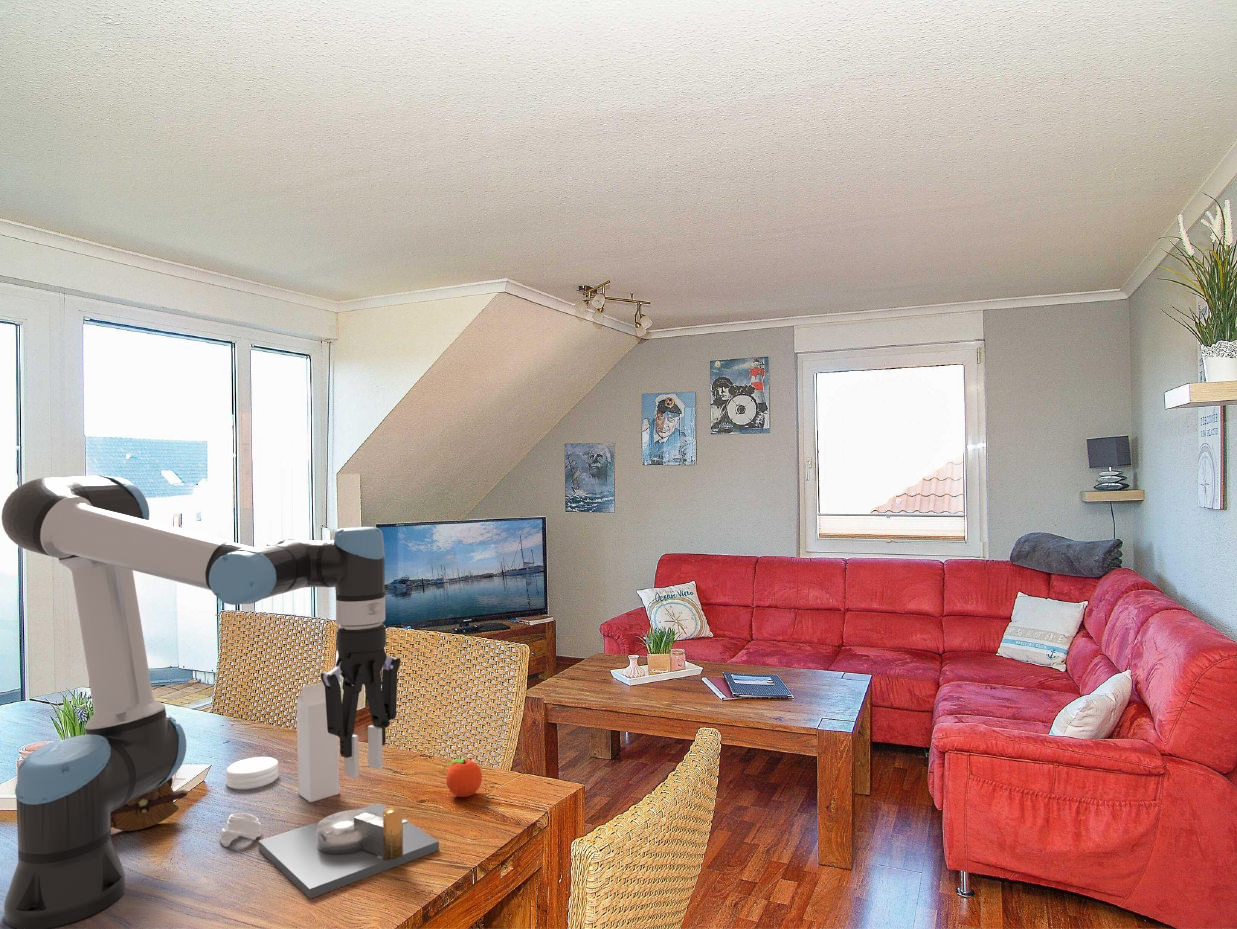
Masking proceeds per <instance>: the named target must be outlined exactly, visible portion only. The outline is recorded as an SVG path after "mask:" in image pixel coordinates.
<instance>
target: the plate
mask: <svg viewBox="0 0 1237 929" xmlns="http://www.w3.org/2000/svg"><path fill="white" fill-rule="evenodd" d="M387 808H388V807H387V806H385V805H384V804H382V803H380V802H378V803H377V802H376V803H373V804H371V805H368V806H364V807H361V808H358V809H357V810H368V811H372V812H374V813H376V814H377V815H378V816H379V817H382V818H383V811H384V810H385V809H387ZM319 822H320V821H317V822H313V823H311V824H307V825H304V826H301V827H297V828H294V829H292V830H289V831H286V832H283V833H279V834H276V835H272V836H270V837H269V836H268V837H267V838H266V837H265V838H263V839H260V840H258V850H259V851H260V852H261V853H262V854H263V855H264V856H265V857H266V858H267V859H268V860H269V861H270V862H271V863H272V864H273V865H274V866H275V867H277V869H278V870H279V871H280V872H281V873H282V874H283V875H285V877H286V878H288V879H289V881H291V882H292V883H293V884H294V885H295V886H296V887H297V888H298V889H299V890H300V891H301V892H302V893H303V894H304V895H305V896H306V897H307V898H308V899H309V900H311V899H313V898H316V897H318V896H321V895H325V894H326V893H329V892H331V891H335V890H337V889H340V888H342V887H345V886H348V885H350V884H353V883H355V882H358V881H361V880H363V879H366V878H369V877H371V876H375V875H377V874H380V873H383V872H385V871H388V870H390V869H392V868H393V869H394V868H396V867H398V866H401V865H403V864H406V863H409V862H411V861H414V860H417V859H419V858H423V857H424V856H427V855H430V854H432V853H435V852H438V851H439V850H440V842H439V840H438V839H436V838H434V837H433V836H432V835H430V834H429V833H427V832H425V831H424V830H422V829H421V828H419V827H418V826H416V825H415V824H413V823H411V822H409V820H407V819H405V818H403V817H402V824H403V855H402V856H401V857H399V858H397V859H392V860H388V859H385V858H384V857H383V856H380V855H377V854H374V853H372V852H369V851H366V850H363V849H362V850H359V851H356V852H351V853H345V854H330V853H325V852H322V851H321V850H319V849H318V847H317V824H318V823H319Z"/></svg>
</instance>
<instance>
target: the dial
mask: <svg viewBox="0 0 1237 929" xmlns="http://www.w3.org/2000/svg"><path fill="white" fill-rule="evenodd" d="M386 808H387V809H385V810H384V811H383V818H382V817H379V816H378V815H377V814H376V813H374V812H372V811H368V810H358V809H349V810H343V811H338V812H336V813H333V814H330V815H327V816H326V817H324V818H322V819H321V820H320V821H318V822H319V823H318V824H317V847H318V849H319V850H321V851H322V852H325V853H330V854H345V853H351V852H356V851H359V850H362V849H363V850H366V851H369V852H372V853H374V854H377V855H380V856H383V857H384V858H385V859H388V860H392V859H397V858H399V857H401V856H402V855H403V824H402V818H403V809H402V808H401V807H399V806H392V807H386Z"/></svg>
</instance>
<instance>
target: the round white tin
mask: <svg viewBox="0 0 1237 929" xmlns="http://www.w3.org/2000/svg"><path fill="white" fill-rule="evenodd" d="M279 769H280V768H279V761H278V760H277V759H276V758H274V757H271V756H254V757H250V758H249V757H248V758H245V759H241V760H238V761H235V762H233V763H231V764H230V765H229V766H228V767H227V768H226V770H225V774H226V776H225V778H226V785H227V787H229V789H233V790H249V789H250V790H252V789H256V788H261V787H265V786H267V785H270V784H271V783H274V781H276V780H277V779H278V778H279V776H280V774H279Z"/></svg>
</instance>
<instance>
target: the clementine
mask: <svg viewBox="0 0 1237 929" xmlns="http://www.w3.org/2000/svg"><path fill="white" fill-rule="evenodd" d="M452 763H453V764H452ZM449 764H452V765H451V766H450V768H449V769H448V771H447V774H446V780H445V781H446V786H447V788H448V790H449V792H450V793H452V795H454V796H456V797H458V798H467V797H470V796H472V795H474V794H475V793H477V791H478V790H479V788H480V787H481V785H482V779H483V775H482V771H481V768H480V766H479V765H478V764H477V763H476V762H475V761H473V760H471V759H455V760H452V761H450V762H449V763H447V764H446V765H445V766H444V769H443V772H444V771H445V769H446V767H447V766H448V765H449Z"/></svg>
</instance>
